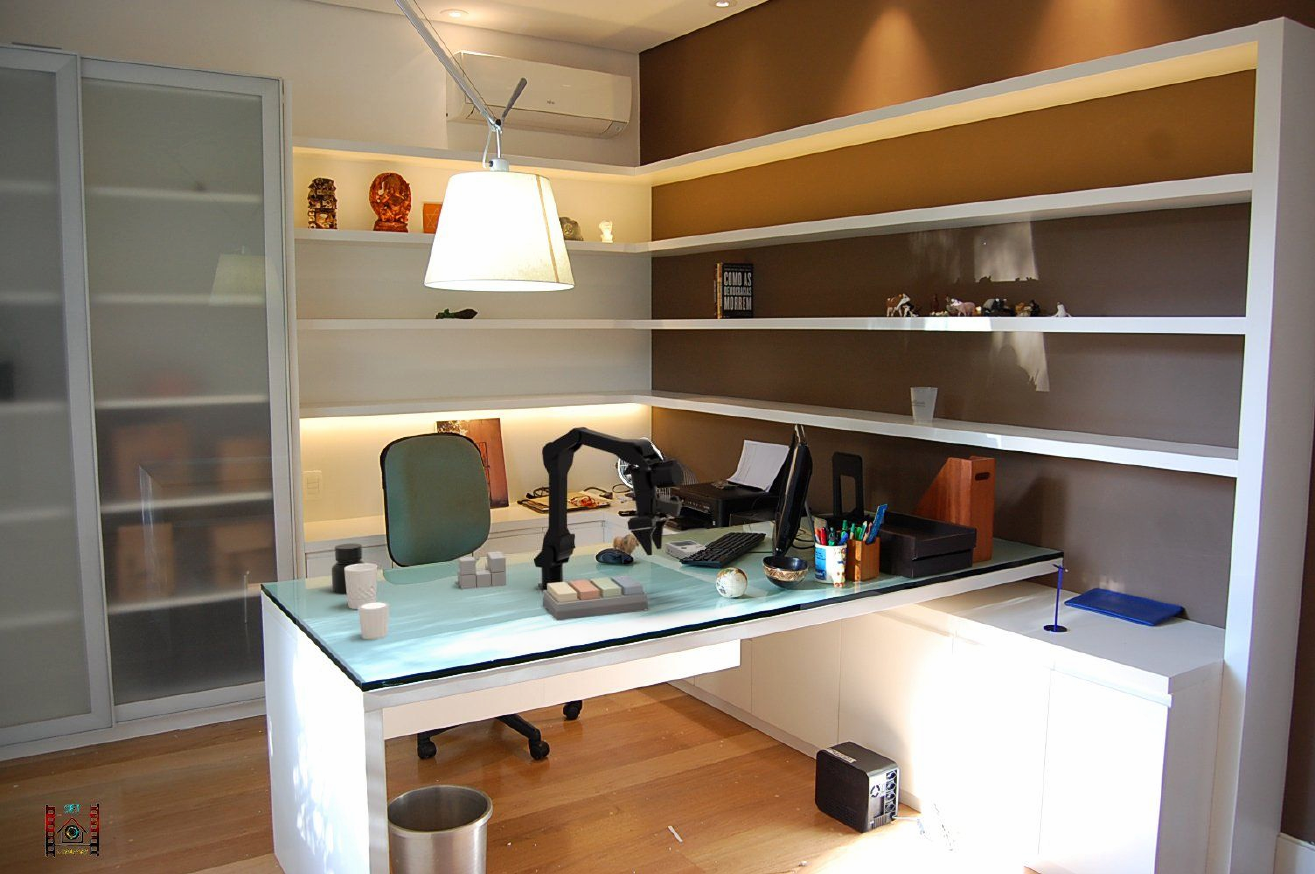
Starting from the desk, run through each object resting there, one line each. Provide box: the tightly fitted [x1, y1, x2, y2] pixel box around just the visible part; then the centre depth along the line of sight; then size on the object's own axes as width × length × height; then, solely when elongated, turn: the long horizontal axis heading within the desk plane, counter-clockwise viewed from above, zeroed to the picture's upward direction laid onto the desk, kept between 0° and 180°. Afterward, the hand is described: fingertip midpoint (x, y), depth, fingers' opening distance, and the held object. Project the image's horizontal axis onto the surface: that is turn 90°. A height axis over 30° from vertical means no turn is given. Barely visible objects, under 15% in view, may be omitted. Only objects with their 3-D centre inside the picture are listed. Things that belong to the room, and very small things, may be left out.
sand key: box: [547, 581, 577, 603], centre depth 235 cm, size 11×5×2 cm, turn 21°
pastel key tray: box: [542, 590, 649, 621], centre depth 238 cm, size 14×23×4 cm, turn 111°
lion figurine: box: [612, 533, 641, 557], centre depth 288 cm, size 15×5×9 cm, turn 34°
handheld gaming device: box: [664, 539, 707, 560], centre depth 293 cm, size 9×15×4 cm, turn 24°
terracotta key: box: [568, 579, 599, 601], centre depth 237 cm, size 11×5×2 cm, turn 21°
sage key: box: [589, 577, 621, 598], centre depth 239 cm, size 11×5×2 cm, turn 21°
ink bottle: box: [331, 543, 365, 595], centre depth 255 cm, size 10×9×12 cm
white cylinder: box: [357, 601, 390, 640], centre depth 217 cm, size 7×7×7 cm
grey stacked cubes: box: [457, 551, 507, 590], centre depth 263 cm, size 12×12×8 cm
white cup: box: [344, 562, 378, 610], centre depth 240 cm, size 8×8×10 cm
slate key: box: [610, 575, 644, 596], centre depth 241 cm, size 11×5×2 cm, turn 21°
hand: (654, 552), depth 239 cm, fingers open, 9 cm apart
